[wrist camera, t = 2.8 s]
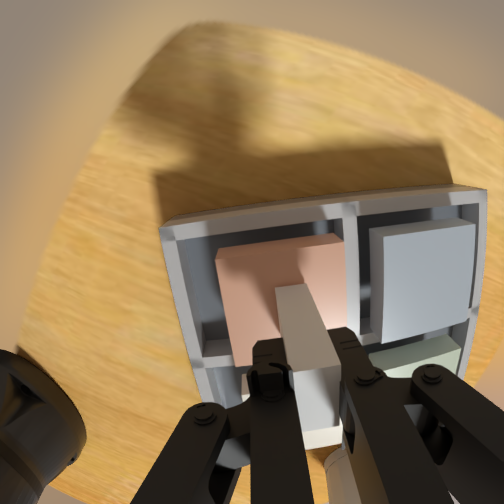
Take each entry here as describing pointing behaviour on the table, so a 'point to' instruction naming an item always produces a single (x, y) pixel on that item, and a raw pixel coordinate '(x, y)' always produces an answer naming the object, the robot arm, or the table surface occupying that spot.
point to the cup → (340, 479)
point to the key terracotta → (279, 285)
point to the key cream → (310, 437)
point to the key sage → (417, 356)
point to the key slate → (420, 276)
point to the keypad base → (300, 225)
